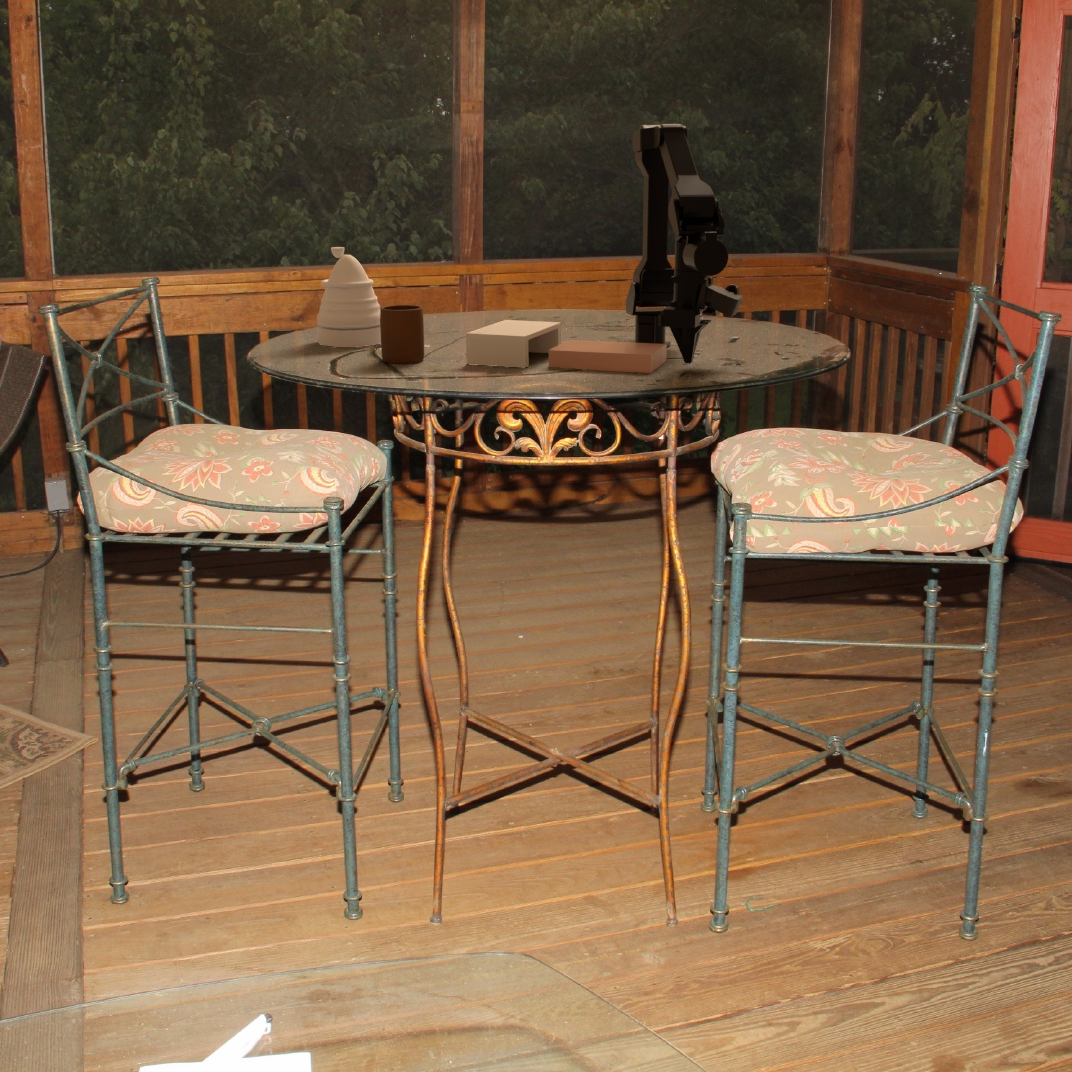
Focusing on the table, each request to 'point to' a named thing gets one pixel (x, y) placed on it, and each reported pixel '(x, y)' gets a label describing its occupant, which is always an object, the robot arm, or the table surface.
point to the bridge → (511, 342)
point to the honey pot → (348, 306)
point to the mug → (402, 334)
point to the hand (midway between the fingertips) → (688, 363)
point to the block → (608, 356)
